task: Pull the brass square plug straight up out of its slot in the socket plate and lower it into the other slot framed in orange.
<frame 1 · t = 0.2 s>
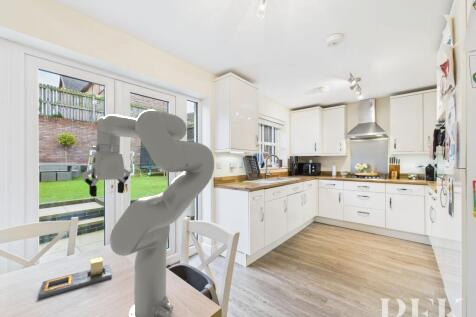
hand: (107, 194, 79), 36 cm above the table, tool pointing down, fingers open, 9 cm apart
socket plate: (78, 281, 83), on the table
brass plug: (96, 276, 86), resting in socket plate
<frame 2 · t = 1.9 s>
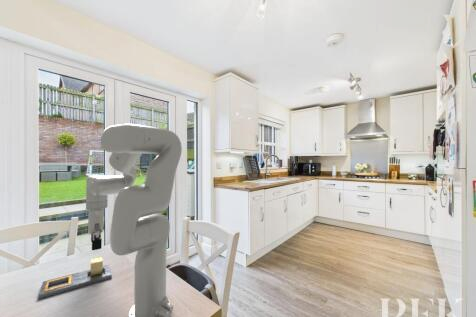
hand: (96, 244, 87), 13 cm above the table, tool pointing down, fingers open, 9 cm apart
nothing on the table moved.
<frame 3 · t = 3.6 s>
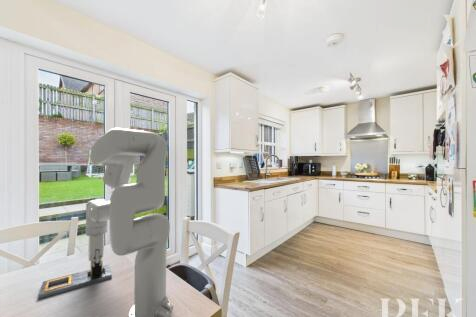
hand: (96, 272, 86), 2 cm above the table, tool pointing down, fingers closed on brass plug, 4 cm apart
brass plug: (96, 276, 86), resting in socket plate, touching gripper
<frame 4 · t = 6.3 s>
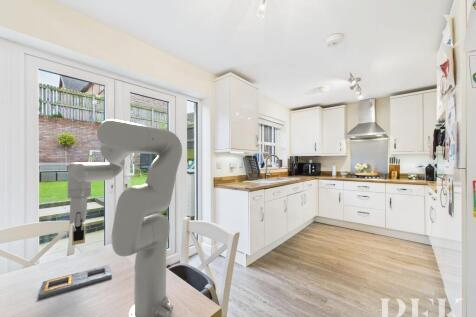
hand: (78, 237, 83), 18 cm above the table, tool pointing down, fingers closed on brass plug, 4 cm apart
brass plug: (78, 242, 83), point 16 cm above the table, touching gripper
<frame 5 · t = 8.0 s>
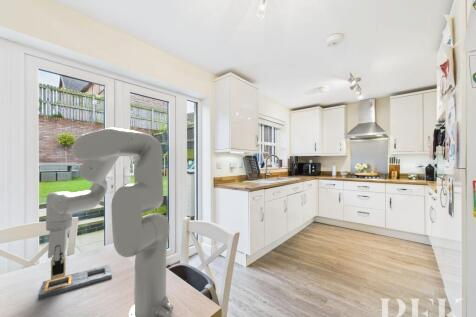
hand: (58, 270, 79), 6 cm above the table, tool pointing down, fingers closed on brass plug, 4 cm apart
brass plug: (58, 275, 79), point 4 cm above the table, touching gripper
when the fingers open (2 cm above the table, at t = 9.2 s): brass plug stays where it is, resting in socket plate.
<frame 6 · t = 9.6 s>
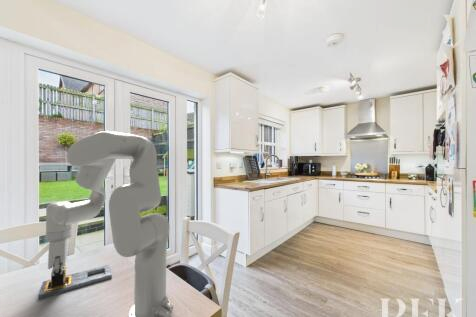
hand: (58, 279, 79), 3 cm above the table, tool pointing down, fingers open, 8 cm apart
brass plug: (58, 287, 79), resting in socket plate
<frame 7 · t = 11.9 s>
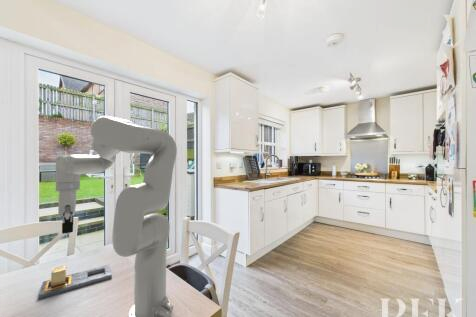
hand: (68, 229, 82), 21 cm above the table, tool pointing down, fingers open, 9 cm apart
nothing on the table moved.
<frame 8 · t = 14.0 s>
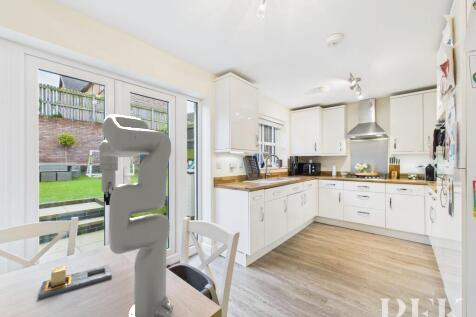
hand: (108, 203, 99), 28 cm above the table, tool pointing down, fingers open, 9 cm apart
nothing on the table moved.
at the end: brass plug 0.1 cm from the target spot, resting in socket plate; brass plug tilted 0°; the gripper is holding nothing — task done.
